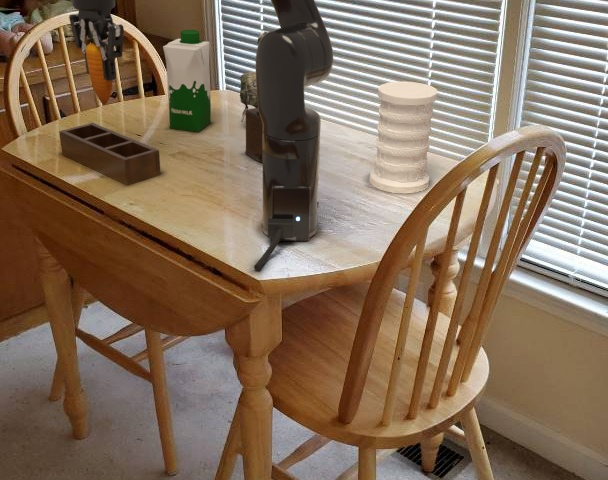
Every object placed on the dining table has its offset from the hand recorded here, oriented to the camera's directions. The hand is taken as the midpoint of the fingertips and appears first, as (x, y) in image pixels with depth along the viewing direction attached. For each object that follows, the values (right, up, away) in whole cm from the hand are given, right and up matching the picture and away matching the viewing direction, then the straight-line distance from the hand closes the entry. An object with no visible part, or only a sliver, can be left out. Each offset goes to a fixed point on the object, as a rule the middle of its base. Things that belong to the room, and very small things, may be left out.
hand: (101, 76), depth 152 cm
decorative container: (+57, -19, +6) cm, 60 cm away
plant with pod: (+28, -1, +33) cm, 43 cm away
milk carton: (+12, -2, +31) cm, 33 cm away
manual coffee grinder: (+34, -13, +14) cm, 39 cm away
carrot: (0, -5, +3) cm, 6 cm away
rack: (-1, -15, +9) cm, 17 cm away
